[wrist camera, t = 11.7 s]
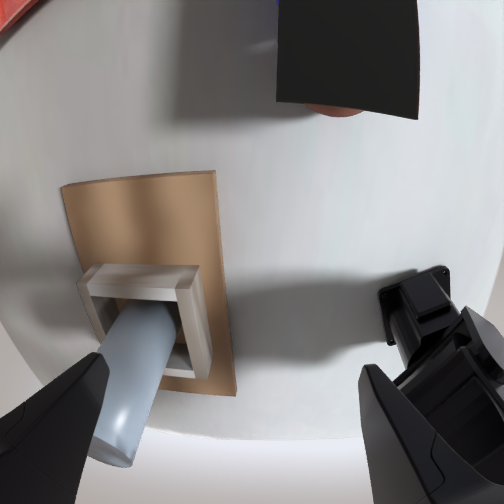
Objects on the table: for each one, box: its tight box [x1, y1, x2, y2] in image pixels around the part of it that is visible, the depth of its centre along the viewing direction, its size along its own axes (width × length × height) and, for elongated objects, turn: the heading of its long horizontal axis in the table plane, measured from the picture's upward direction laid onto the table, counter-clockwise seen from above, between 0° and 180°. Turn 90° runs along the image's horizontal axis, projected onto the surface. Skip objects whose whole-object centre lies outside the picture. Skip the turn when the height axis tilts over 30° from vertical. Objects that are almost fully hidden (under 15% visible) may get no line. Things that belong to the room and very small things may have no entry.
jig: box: [61, 170, 237, 396], centre depth 23 cm, size 12×22×4 cm, turn 2°
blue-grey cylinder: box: [87, 299, 182, 468], centre depth 18 cm, size 5×5×13 cm
